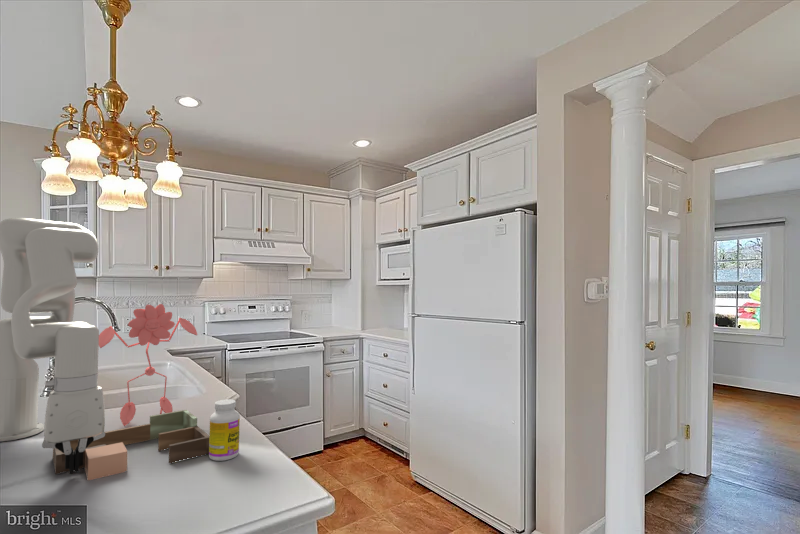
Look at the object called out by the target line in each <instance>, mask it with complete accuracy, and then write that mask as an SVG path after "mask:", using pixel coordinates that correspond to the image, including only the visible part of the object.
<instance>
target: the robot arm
mask: <svg viewBox="0 0 800 534" xmlns="http://www.w3.org/2000/svg"><path fill="white" fill-rule="evenodd" d="M98 242H99V241H98V240H97V237H96V236H95V234H94V233H93V232H92V231H90V229H87V228H86V227H84V226H82V225H80V224H78V223H76V222H75V223H73V222H67V221H65V222H64V221H54V220H48V219H47V220H46V219H36V218H27V217H12V218H5V219H2V220H1V221H0V253H1V256H2V260H3V270H2V278H1V281H2V282H1V289H0V290H1V291H0V304H1V305H0V306H1V308H2V309H3V311H5V312H6V313H9V314H11V317H8V318H7V317H5V318H2V319H0V442H9V441H15V440H20V439H26V438H29V437H31V436H34V435H38V434H40V433H41V432H44V433H43V434H44V438H43V441H42V444H41V447H42V449H53V448H57V449H58V450H60V451H61V452H63V453H64V454H65V469H69V471H68V473H69V474H71V475H72V474H73V473H79V472H80V469H79V466H83V451H85V449H86V448H87V447H88V446H89V445H90V444H91V443H92V442H93V441H95V440H98V439H100V438H103V437H104V436H105V432H106V431H105V427H106V426H105V425H106V421H105V420H106V419H105V418H106V417H105V416H106V414H105V411H106V410H105V409H106V408H105V397H104V392H103V388H102V386H100V385H98V384H99V383H98V381H99V379H98V378H99V352H100V351H99V348H100V347H99V335H100V332H99V328H98V327H97V326H96V325H93V324H90V323H88V322H86V321H74V314H75V313H74V312H75V304H76V293H75V288H76V287H77V285H78V278H77V274H76V269H75V264H74V263H77V264H81V263H82V264H88V263H89V264H90V263H92V262H94V261H95V260H96V259H97V257H98V256H99V244H98ZM42 313H43V314H44V313H45V314H46V313H50V314H51V315H44V316H43V315H41V316H39V315H38V316H32V315H31V316H30V314H42ZM48 358H49V359H50V358H54V375H53V378H52V379H50V380H47V381H46V380H45V382H44V386H45V387H44V388H45V389H46V388H47V389H48V388H49V389H52V390H53V391H50V392H49V394H48V398H47V400H46V401H47V402H46V408H45V414H44V415H45V417H44V423H41V422H38V411H39V409H38V408H39V407H38V406H39V385H40V384H39V379H40V366H39V364H38V363H37V362H36V360H39V359H48ZM77 439H79V440H78V445H77V447H76V449H75V450H74V451H73V448H71V445H70V441H72V440H77Z"/></svg>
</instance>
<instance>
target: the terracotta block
mask: <svg viewBox="0 0 800 534" xmlns="http://www.w3.org/2000/svg"><path fill="white" fill-rule="evenodd" d="M125 471H128V449H127V448H126V445H124V444H123V442H121V443H116V444H111V445H106V446H101V447H96V448H90V449H85V468H84V472H85V475H86V479H87V481H92V480H96V479H100V478H105V477H109V476H113V475H118V474H122V473H126V472H125Z"/></svg>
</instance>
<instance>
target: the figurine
mask: <svg viewBox="0 0 800 534" xmlns="http://www.w3.org/2000/svg"><path fill="white" fill-rule="evenodd" d="M132 313H133V316H134V317H135V318H132V319H131V320H130V321H128V323H127V325H128V327H130V328H131V329H130V330H129V332H128V337H129V338H130V339H132V338H138V342H136V343H132V344H130V345H129V344H128V343H126V341H125V340H124V339H123V338H122V337H121V335H119V334H118V333H117V331H116V330H115V329H114V328H113V326H112V325H110V326H108V327H106V328H104V329H103V330H102V331H101V332H99V348H100V349H102V348H104V347H105V346H106V345H108V344H109V343H110V342H111V341H112V340H113V339H114V337H115V336H116V337H117V338H118V339H119V340H120V341H121V342H122V344H123V345H124V346H125V347H126V348H129V349H130V348H132V347H134V346H139V345H140V346H146V345H147V346H146V348H145V355H146V357H147V362H148V365H149V366H147V367H146V368H145V370H144V373H142V374H140V375H138V376H135V377H134V378H131V379H129V380H127V382H126V384H127V401H128V402H126V403H125V404H124V405H123V406H122V408H121V409H120V413H119V417H120V418H119V419H120V421H121V423H122V425H123V426H124V427H126V426H127V425H128V424H129V423H131V421H132V420H133V418H134V417H135V415H136V410H137V408H136V404H135V403H134V402H133V401H131V396H130V386H129V385H130V384H129V382H131V381H134V380H137V379H138V378H139V377H142V376H144V375H146V376H147V377H148V376H149V377H151V376H153V375H155V374H157V375H159V376H162V377H165V379H164V380H165V381H164V392H163V393H164V394H163V396H162V397H160V398H159V407H160V410H159V414H163V413H170V412H173V404H172V403H171V401H170V400H169V399H168V398H167V397H166V390H167V379H168V377H167V375H164V374H162V373H160V372H157V371H156V369H155V367H154V366H152V364H151V361H150V360H151V359H150V355H149V347H150V344H151V345H153V346H158V345H159V343H162V342H170V341H171V340H172V338H173V336H174V334H175V332H176V330H177V329H178V326H179V324H180V326H181V327H182V328H183V329H184V330H185V331H186V332H188V333H189V334H192V335H195V336H198V331H197V328H196V327H195V325H194V324H193V323H192V322H190V321H189V320H188V319H186V318H182V317H178V321H177V322H176V323H175V322H174V321H173V320H172V319H173V312H172V311H168V312H166V308H165V306H164V304H163V303H159V304H158V305H156V307H155V306H154V305H152V304H146V305H145V307H144V308H136V309H134V310H133V311H132ZM172 329H173V330H172ZM169 330H172V332H170V331H169Z"/></svg>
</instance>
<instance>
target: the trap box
mask: <svg viewBox="0 0 800 534" xmlns="http://www.w3.org/2000/svg"><path fill="white" fill-rule="evenodd" d="M104 432H105V436H104V437H103V438H100V439H98V440H95V441H93V442H92V443H91V444H90V445H89V446H88V447H87V448H86V449H90V448H96V447H101V446H106V445H111V444H116V443H121V442H123V444H124V446H127V445H132V444H138V443H141V442H146V441H151V440H156V439H158V442H157V443H158V447H157V449H158V451H159V452H161V450H162V451H165V450H164V449H166V450H168V464H169V463H171V464H173V463H172V462H175V461H179V460H183V459H187V458H192V457H196V456H200V457H202V456H201V455H204V456H206V455H205V454H208V455H209V436H210V434H208V433H206V432H205V431H204V429H202V428H200V426H198V417H196V416H195V415H194V414H193V413H191V412H190V411H189V410H188V409H181V410H177V411H172V412H170V413H165V412H163V413H162V414H160V413H158V414H154V415H149V423H144V424H140V425H139V424H138V425H135V426H129V427H125V428H119V429H114V430H107V431H104ZM78 440H79V439H77V440H72V441H70V445H71V448H73V451H74V450H75V449H76V447H77V445H78ZM167 448H169V449H167ZM196 458H197V457H196ZM192 459H193V458H192ZM52 461H53V467H54V472H55V473H54V474H55V475H58V474H63V473H67V472H68V473H69V469H65V454H64V453H63V452H61V451H60V450H58V449H57V448H52ZM81 469H85V451H83V466H79V470H81Z"/></svg>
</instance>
